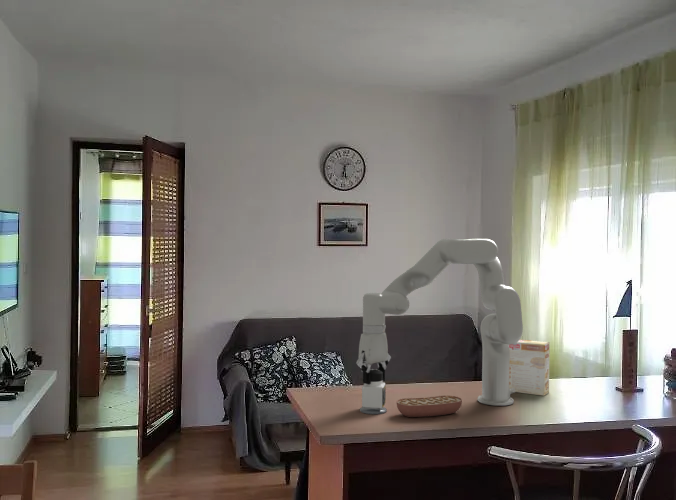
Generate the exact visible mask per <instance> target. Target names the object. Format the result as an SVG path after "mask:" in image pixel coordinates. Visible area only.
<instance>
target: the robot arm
mask: <svg viewBox="0 0 676 500" xmlns="http://www.w3.org/2000/svg"><path fill="white" fill-rule="evenodd" d="M498 254H499V248H498V245H497V244H496V243H495V241H494V240H491V239H489V238H477V237H476V238H475V237H474V238H468V239H465V238H463V239H462V238H443V239H440V240H438V241H437V242H436V243H435V244H434V245H433V246H432V247H431V248H430V249H429V250H428V251H427V252H426V253H425V254H424V255H423V256H422V257H421V258H420V259H419V260H418V261H417V262H416V263H415V264H413V266H412V267H410V268H408V269H407V270H406V271H405V272H403V273H402V274H400V275H399V276H398V277H396V278H395V279H394V280H392V282H391V283H390V284H389V285H388V286H386V288H384V290H383V291H382V292H368V293H365V294H363V297H362V333H360V339H359V344H358V358H357V360H356V363H355V364H356V365H357V366H358V368H359V369H360V370H361V373H362V383H363V384H371V373H370V372H369V371H370V370H371V366H372V365H374V364H377V368H376V370H380V371H382V372H383V382H386V369H387V366H388V364H389V362H390V361H391V359H392V356H391V355H390V353H388V352H389V350H388V349H389V346H388V339H387V337H388V336H387V333H386V328H387V326H386V315H395V316H401V315H403V314H405V313H406V312H408V310H409V309H410V299H409V298H408V297H407V296H409V295H410V294H411V293H412V292H415V291H416V290H418V289H421V288H423V287H426V286H428V285H430V284H432V283H433V282H434V281H436V279H437V278H438V277H439V276H440V275H441V274H442V273H443V272H444V271H445V270H446V269H447V268H448V267H449V266H450V265H452V264H453V265H455V264H456V265H457V264H458V265H474V267H475V268H476V271H477V273H478V278H479V289H480V290H479V291H480V301H481V303H482V306H483V307H484V308H485V309H487V310H488V311H492V312H495V313H490V314H488V315H485V316H484V317H483V319H482V320H481V322H480V328H479V329H480V335H481V336H480V337H481V343H482V344H481V345H482V358H481V359H482V360H481V362H482V367H481V368H482V369H481V372H482V373H481V374H482V375H481V379H482V380H481V381H482V382H481V384H482V385H481V386H482V387H481V395H478V396H477V401H478V402H479V403H481V404H483V405H488V406H496V407H497V406H498V407H500V406H501V407H502V406H510V405H513V404H514V398H513V397H511V395H512V394H515V393H516V392H515V389H514V388H509V363H510V351H509V345H511V344H515V343H517V342H518V341H519V340H521V338H522V336H523V330H524V329H523V328H524V326H523V325H524V324H523V314H522V304H521V298H520V296H519V294H518V292H517V290H515V289H514V288H513V287H511V286H508V285H506V284H505V279H504V271H503V267H502V263H501V261H500V259H499V258H498ZM508 344H509V345H508Z"/></svg>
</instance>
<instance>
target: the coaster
mask: <svg viewBox="0 0 676 500" xmlns="http://www.w3.org/2000/svg"><path fill="white" fill-rule="evenodd" d="M359 412H361V413H363V414H366V415H382V414H386V413H387V407H385V406H384V407H383V408H366V407H360V408H359Z"/></svg>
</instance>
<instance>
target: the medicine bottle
mask: <svg viewBox="0 0 676 500" xmlns="http://www.w3.org/2000/svg"><path fill="white" fill-rule="evenodd" d="M369 372H370V373H371V384H365V383H363V385H362V386H361V406H362V407H366V408H383V407H385V405H386V396H387V395H386V389H387V387H386V382H384V381H383V372H382V371H380V370H377V368H375V369H373V368H372V369H371V368H370V371H369Z"/></svg>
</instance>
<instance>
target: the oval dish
mask: <svg viewBox="0 0 676 500" xmlns="http://www.w3.org/2000/svg"><path fill="white" fill-rule="evenodd" d="M462 403H463V399H462V398H461V397H459V396H455V395H438V396H430V397H429V396H427V397H426V396H424V397H411V398H409V397H408V398H407V397H406V398H400V399H397V400H396V407H397V409H398V411H399V413H400V414H401V415H403V416H404V417H407V418H425V417H426V418H427V417H437V416H438V417H439V416H444V415H446V416H447V415H452V414H454V413H456V412H458V411H459V410H460V408H461V407H462Z"/></svg>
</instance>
